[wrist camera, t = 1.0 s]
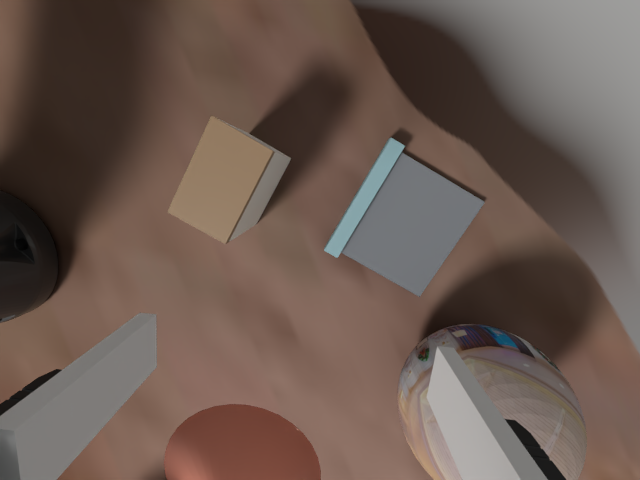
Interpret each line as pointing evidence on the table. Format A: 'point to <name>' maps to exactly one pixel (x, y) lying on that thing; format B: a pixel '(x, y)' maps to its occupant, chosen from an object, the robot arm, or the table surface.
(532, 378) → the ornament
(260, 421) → the ceramic vessels
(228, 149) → the cream block
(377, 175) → the strip
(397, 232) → the mat
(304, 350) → the table surface
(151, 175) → the table surface
